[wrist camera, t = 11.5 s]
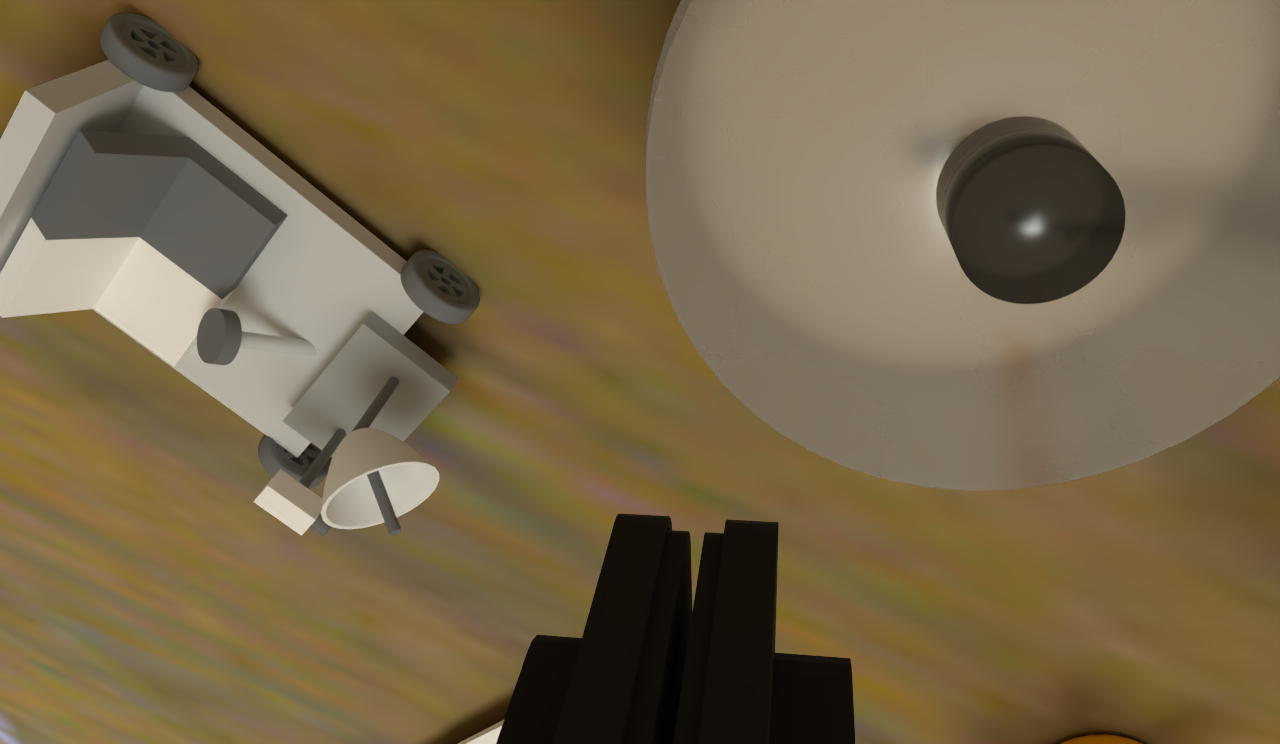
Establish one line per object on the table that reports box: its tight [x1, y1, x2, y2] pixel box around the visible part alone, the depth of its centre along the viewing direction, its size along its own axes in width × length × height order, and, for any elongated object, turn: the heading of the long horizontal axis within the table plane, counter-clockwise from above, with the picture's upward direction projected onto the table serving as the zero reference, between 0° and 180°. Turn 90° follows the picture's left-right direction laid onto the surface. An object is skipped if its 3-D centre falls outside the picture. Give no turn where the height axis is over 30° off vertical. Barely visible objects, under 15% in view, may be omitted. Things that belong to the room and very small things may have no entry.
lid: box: [645, 0, 1280, 491], centre depth 21 cm, size 17×16×4 cm
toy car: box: [0, 13, 480, 536], centre depth 35 cm, size 18×10×12 cm
